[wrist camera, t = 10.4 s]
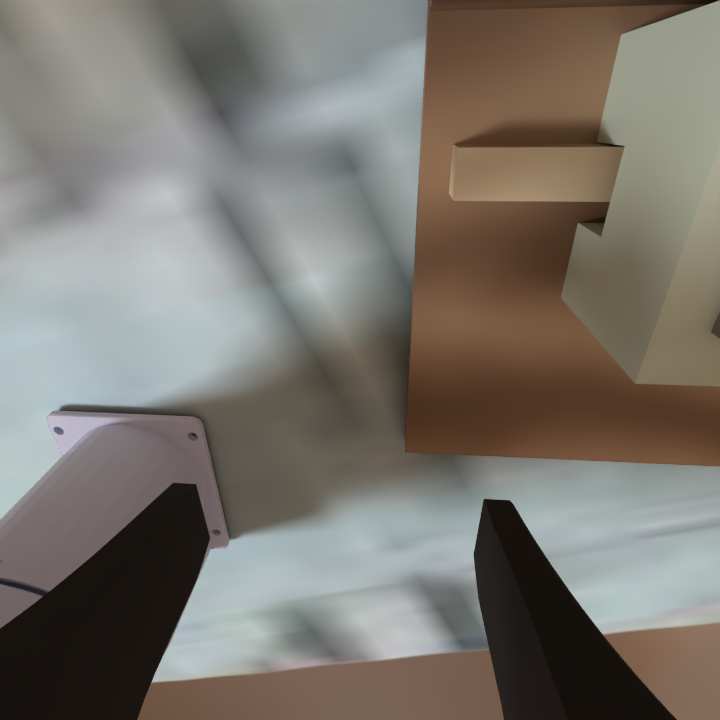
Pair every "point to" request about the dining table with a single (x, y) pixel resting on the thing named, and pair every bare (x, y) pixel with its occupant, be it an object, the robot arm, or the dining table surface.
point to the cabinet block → (658, 208)
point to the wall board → (527, 243)
